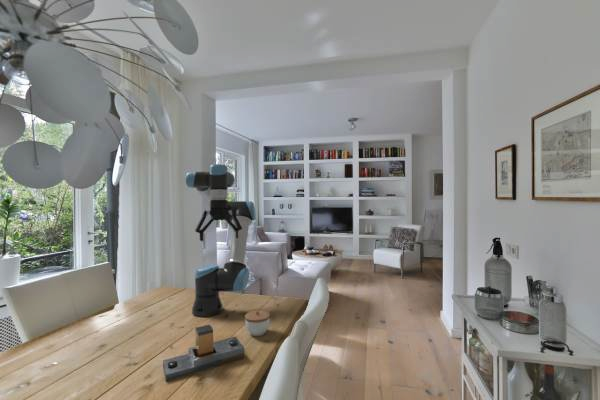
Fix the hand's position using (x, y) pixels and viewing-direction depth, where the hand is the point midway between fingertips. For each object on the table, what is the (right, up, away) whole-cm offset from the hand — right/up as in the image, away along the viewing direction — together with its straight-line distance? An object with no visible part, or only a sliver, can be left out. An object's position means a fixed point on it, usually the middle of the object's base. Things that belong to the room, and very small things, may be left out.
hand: (219, 247), depth 131 cm
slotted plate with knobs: (+2, -37, -27) cm, 45 cm away
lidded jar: (+18, -37, -4) cm, 41 cm away
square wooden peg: (+2, -37, -27) cm, 45 cm away
